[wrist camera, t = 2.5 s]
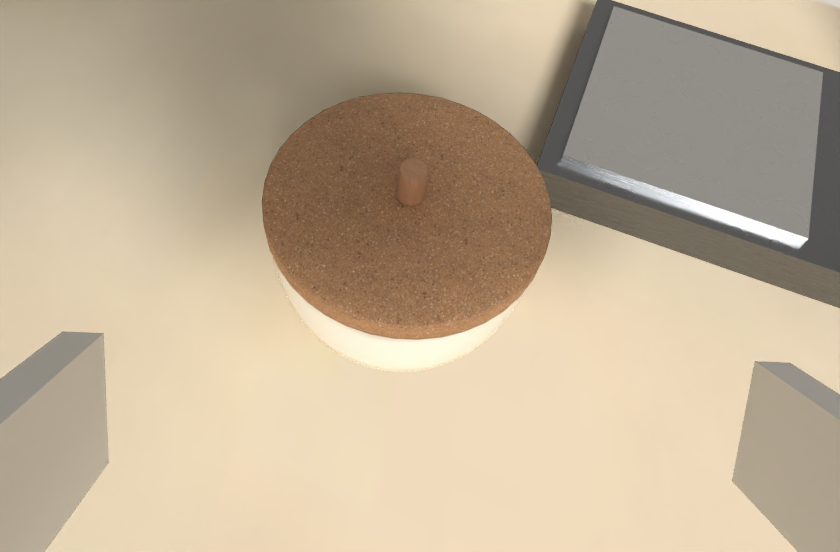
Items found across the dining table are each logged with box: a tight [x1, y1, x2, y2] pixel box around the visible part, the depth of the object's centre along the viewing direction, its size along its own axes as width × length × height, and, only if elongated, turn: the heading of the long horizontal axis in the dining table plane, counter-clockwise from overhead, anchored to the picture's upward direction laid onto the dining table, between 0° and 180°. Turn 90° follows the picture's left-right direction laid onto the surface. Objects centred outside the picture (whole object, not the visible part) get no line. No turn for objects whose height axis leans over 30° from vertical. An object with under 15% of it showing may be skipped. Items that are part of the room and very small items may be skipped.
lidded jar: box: [262, 93, 552, 372], centre depth 29 cm, size 11×11×9 cm
